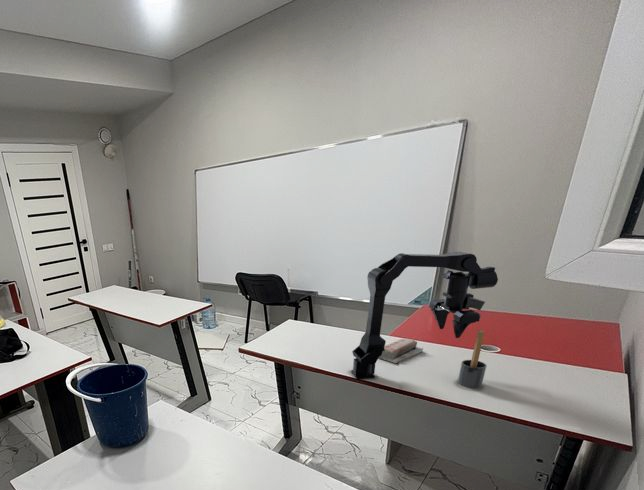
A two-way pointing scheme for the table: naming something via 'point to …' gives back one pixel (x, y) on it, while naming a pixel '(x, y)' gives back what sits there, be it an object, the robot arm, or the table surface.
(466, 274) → the robot arm
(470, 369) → the grey cylinder
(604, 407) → the table surface
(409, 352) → the packaged product
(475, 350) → the wooden stick
